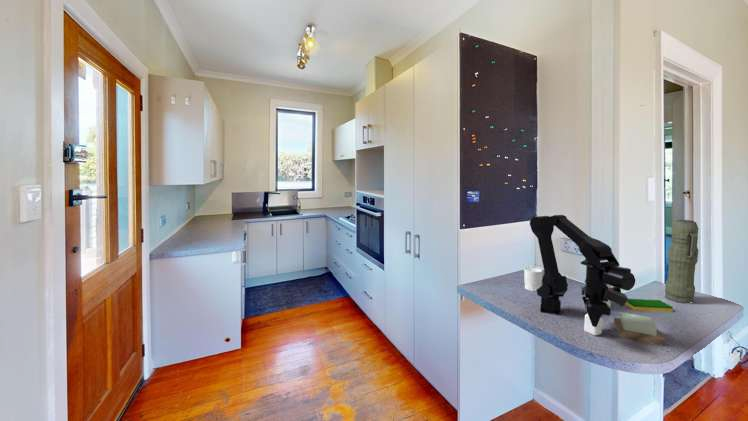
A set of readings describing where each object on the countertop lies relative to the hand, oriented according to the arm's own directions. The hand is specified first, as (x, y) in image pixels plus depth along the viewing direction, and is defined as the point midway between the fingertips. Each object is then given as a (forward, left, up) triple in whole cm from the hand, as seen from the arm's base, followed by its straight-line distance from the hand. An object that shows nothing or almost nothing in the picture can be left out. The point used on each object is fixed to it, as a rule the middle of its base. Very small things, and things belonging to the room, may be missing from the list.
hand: (593, 323), depth 102 cm
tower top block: (+13, +6, -1) cm, 14 cm away
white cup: (-20, +36, -4) cm, 41 cm away
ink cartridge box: (+5, +28, -4) cm, 29 cm away
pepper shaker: (0, 0, -4) cm, 4 cm away
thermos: (+36, +51, -4) cm, 63 cm away
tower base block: (+13, +6, -4) cm, 15 cm away
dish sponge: (+22, +35, -4) cm, 42 cm away
